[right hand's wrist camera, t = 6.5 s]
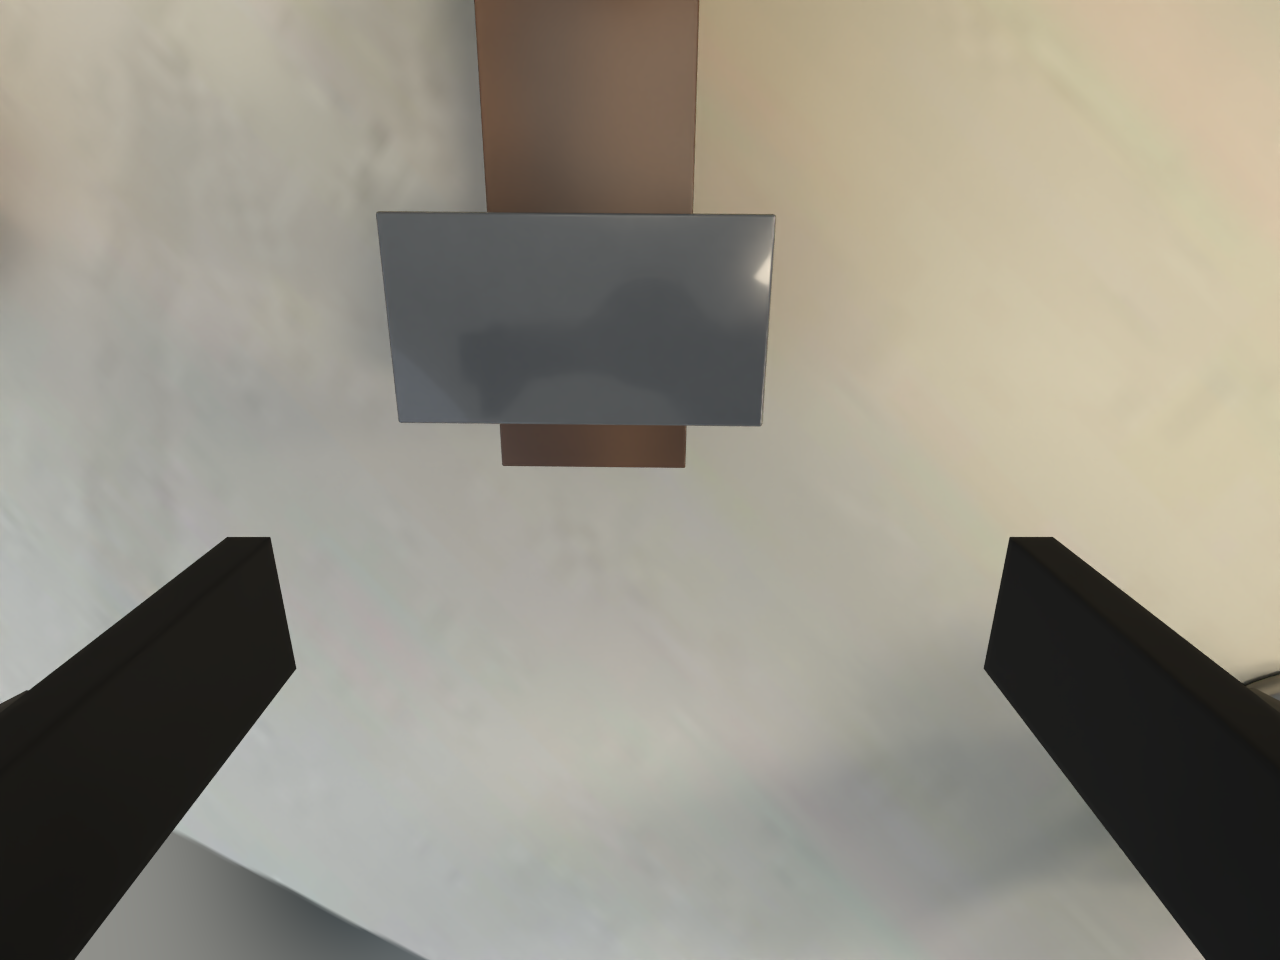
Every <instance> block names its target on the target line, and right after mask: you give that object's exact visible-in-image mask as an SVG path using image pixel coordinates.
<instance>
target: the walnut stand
mask: <svg viewBox="0 0 1280 960" xmlns="http://www.w3.org/2000/svg"><path fill="white" fill-rule="evenodd" d="M474 4H475V20H476V37H477V54H478V70H479V87H480V103H481V120H482V136H483V153H484V169H485V186H486V203H487V212H544V213H680V214H693V191H694V157H695V124H696V90H697V57H698V23H699V0H474ZM500 434H501V451H502V465H503V466H567V467H659V468H684V467H685V459H686V426H672V425H575V424H500Z"/></svg>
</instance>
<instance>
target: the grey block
mask: <svg viewBox="0 0 1280 960" xmlns="http://www.w3.org/2000/svg"><path fill="white" fill-rule="evenodd" d="M376 218H377V227H378V236H379V245H380V254H381V264H382V273H383V282H384V291H385V300H386V309H387V319H388V328H389V337H390V346H391V355H392V364H393V373H394V383H395V392H396V401H397V410H398V419H399V422H401V423H477V424H575V425H672V426H761V425H762V421H763V406H764V391H765V375H766V360H767V345H768V330H769V315H770V300H771V285H772V270H773V255H774V240H775V225H776V216H775V215H774V214H680V213H544V212H408V211H378V212H377V213H376Z"/></svg>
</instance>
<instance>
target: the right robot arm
mask: <svg viewBox="0 0 1280 960" xmlns="http://www.w3.org/2000/svg"><path fill="white" fill-rule="evenodd" d="M295 670H296V665H295V660H294V655H293V650H292V644H291V639H290V634H289V629H288V624H287V619H286V614H285V609H284V604H283V599H282V594H281V589H280V584H279V579H278V574H277V569H276V564H275V559H274V554H273V548H272V543H271V538H270V537H227V538H225V539H224V540H223V541H221V542H220V543H219V544H218V545H216V546H215V547H214V548H212V549H211V550H210V551H209V552H207V553H206V554H205V555H203V556H202V557H201V558H199V559H198V560H197V561H196V562H194V563H193V564H192V565H190V566H189V567H188V568H187V569H185V570H184V571H183V572H181V573H180V574H179V575H178V576H176V577H175V578H174V579H172V580H171V581H170V582H168V583H167V584H166V585H165V586H163V587H162V588H161V589H159V590H158V591H157V592H156V593H154V594H153V595H152V596H150V597H149V598H148V599H146V600H145V601H144V602H143V603H141V604H140V605H139V606H137V607H136V608H135V609H134V610H132V611H131V612H130V613H128V614H127V615H126V616H125V617H123V618H122V619H121V620H119V621H118V622H117V623H115V624H114V625H113V626H112V627H110V628H109V629H108V630H106V631H105V632H104V633H103V634H101V635H100V636H99V637H97V638H96V639H95V640H94V641H92V642H91V643H90V644H88V645H87V646H86V647H84V648H83V649H82V650H81V651H79V652H78V653H77V654H75V655H74V656H73V657H72V658H70V659H69V660H68V661H66V662H65V663H64V664H62V665H61V666H60V667H59V668H57V669H56V670H55V671H53V672H52V673H51V674H50V675H48V676H47V677H46V678H44V679H43V680H42V681H41V682H39V683H38V684H37V685H35V686H34V687H33V688H31V689H30V690H26V691H24V692H22V693H21V694H19V695H17V696H15V697H13V698H11V699H9V700H7V701H5V702H3V703H1V704H0V960H75V958H76V957H77V956H78V954H79V953H80V952H81V950H82V949H83V948H84V946H85V945H86V944H87V942H88V941H89V940H90V939H91V937H92V936H93V935H94V933H95V932H96V931H97V929H98V928H99V927H100V925H101V924H102V923H103V921H104V920H105V919H106V918H107V916H108V915H109V914H110V912H111V911H112V910H113V908H114V907H115V906H116V904H117V903H118V902H119V900H120V899H121V898H122V897H123V895H124V894H125V893H126V891H127V890H128V889H129V887H130V886H131V885H132V883H133V882H134V881H135V879H136V878H137V877H138V876H139V874H140V873H141V872H142V870H143V869H144V868H145V866H146V865H147V864H148V862H149V861H150V860H151V859H152V857H153V856H154V855H155V853H156V852H157V851H158V849H159V848H160V847H161V845H162V844H163V843H164V841H165V840H166V839H167V837H168V836H169V835H170V833H171V832H172V831H173V830H174V828H175V827H176V826H177V824H178V823H179V822H180V820H181V819H182V818H183V817H184V815H185V814H186V813H187V811H188V810H189V809H190V807H191V806H192V805H193V803H194V802H195V801H196V799H197V798H198V797H199V796H200V794H201V793H202V792H203V790H204V789H205V788H206V786H207V785H208V784H209V782H210V781H211V780H212V778H213V777H214V776H215V775H216V773H217V772H218V771H219V769H220V768H221V767H222V765H223V764H224V763H225V761H226V760H227V759H228V757H229V756H230V755H231V754H232V752H233V751H234V750H235V748H236V747H237V746H238V744H239V743H240V742H241V740H242V739H243V738H244V736H245V735H246V734H247V733H248V731H249V730H250V729H251V727H252V726H253V725H254V723H255V722H256V721H257V719H258V718H259V717H260V715H261V714H262V713H263V712H264V710H265V709H266V708H267V706H268V705H269V704H270V702H271V701H272V700H273V698H274V697H275V696H276V695H277V693H278V692H279V691H280V689H281V688H282V687H283V685H284V684H285V683H286V681H287V680H288V679H289V677H290V676H291V675H292V674H293V672H294V671H295ZM984 670H985V671H986V672H987V674H988V675H989V676H990V677H991V679H992V680H993V681H994V683H995V684H996V685H997V687H998V688H999V689H1000V691H1001V692H1002V693H1003V695H1004V696H1005V697H1006V698H1007V700H1008V701H1009V702H1010V704H1011V705H1012V706H1013V708H1014V709H1015V710H1016V712H1017V713H1018V714H1019V716H1020V717H1021V718H1022V719H1023V721H1024V722H1025V723H1026V725H1027V726H1028V727H1029V729H1030V730H1031V731H1032V733H1033V734H1034V735H1035V736H1036V738H1037V739H1038V740H1039V742H1040V743H1041V744H1042V746H1043V747H1044V748H1045V750H1046V751H1047V752H1048V754H1049V755H1050V756H1051V757H1052V759H1053V760H1054V761H1055V763H1056V764H1057V765H1058V767H1059V768H1060V769H1061V771H1062V772H1063V773H1064V775H1065V776H1066V777H1067V778H1068V780H1069V781H1070V782H1071V784H1072V785H1073V786H1074V788H1075V789H1076V790H1077V792H1078V793H1079V794H1080V796H1081V797H1082V798H1083V799H1084V801H1085V802H1086V803H1087V805H1088V806H1089V807H1090V809H1091V810H1092V811H1093V813H1094V814H1095V815H1096V817H1097V818H1098V819H1099V820H1100V822H1101V823H1102V824H1103V826H1104V827H1105V828H1106V830H1107V831H1108V832H1109V834H1110V835H1111V836H1112V838H1113V839H1114V840H1115V841H1116V843H1117V844H1118V845H1119V847H1120V848H1121V849H1122V851H1123V852H1124V853H1125V855H1126V856H1127V857H1128V859H1129V860H1130V861H1131V862H1132V864H1133V865H1134V866H1135V868H1136V869H1137V870H1138V872H1139V873H1140V874H1141V876H1142V877H1143V878H1144V879H1145V881H1146V882H1147V883H1148V885H1149V886H1150V887H1151V889H1152V890H1153V891H1154V893H1155V894H1156V895H1157V897H1158V898H1159V899H1160V900H1161V902H1162V903H1163V904H1164V906H1165V907H1166V908H1167V910H1168V911H1169V912H1170V914H1171V915H1172V916H1173V918H1174V919H1175V920H1176V921H1177V923H1178V924H1179V925H1180V927H1181V928H1182V929H1183V931H1184V932H1185V933H1186V935H1187V936H1188V937H1189V939H1190V940H1191V941H1192V942H1193V944H1194V945H1195V946H1196V948H1197V949H1198V950H1199V952H1200V953H1201V954H1202V956H1203V957H1204V958H1205V960H1280V675H1276V676H1272V677H1268V678H1265V679H1262V680H1259V681H1256V682H1253V683H1251V684H1249V685H1246V686H1245V685H1243V684H1242V683H1241V682H1239V681H1238V680H1237V679H1236V678H1234V677H1233V676H1232V675H1230V674H1229V673H1228V672H1227V671H1225V670H1224V669H1223V668H1221V667H1220V666H1219V665H1218V664H1216V663H1215V662H1214V661H1212V660H1211V659H1210V658H1208V657H1207V656H1206V655H1205V654H1203V653H1202V652H1201V651H1199V650H1198V649H1197V648H1196V647H1194V646H1193V645H1192V644H1190V643H1189V642H1188V641H1186V640H1185V639H1184V638H1183V637H1181V636H1180V635H1179V634H1177V633H1176V632H1175V631H1174V630H1172V629H1171V628H1170V627H1168V626H1167V625H1166V624H1165V623H1163V622H1162V621H1161V620H1159V619H1158V618H1157V617H1155V616H1154V615H1153V614H1152V613H1150V612H1149V611H1148V610H1146V609H1145V608H1144V607H1143V606H1141V605H1140V604H1139V603H1137V602H1136V601H1135V600H1134V599H1132V598H1131V597H1130V596H1128V595H1127V594H1126V593H1124V592H1123V591H1122V590H1121V589H1119V588H1118V587H1117V586H1115V585H1114V584H1113V583H1112V582H1110V581H1109V580H1108V579H1106V578H1105V577H1104V576H1102V575H1101V574H1100V573H1099V572H1097V571H1096V570H1095V569H1093V568H1092V567H1091V566H1090V565H1088V564H1087V563H1086V562H1084V561H1083V560H1082V559H1081V558H1079V557H1078V556H1077V555H1075V554H1074V553H1073V552H1071V551H1070V550H1069V549H1068V548H1066V547H1065V546H1064V545H1062V544H1061V543H1060V542H1059V541H1057V540H1056V539H1055V538H1053V537H1010V538H1009V543H1008V548H1007V554H1006V559H1005V564H1004V569H1003V574H1002V579H1001V584H1000V589H999V594H998V599H997V604H996V609H995V614H994V619H993V624H992V629H991V634H990V639H989V644H988V650H987V655H986V660H985V665H984Z"/></svg>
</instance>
